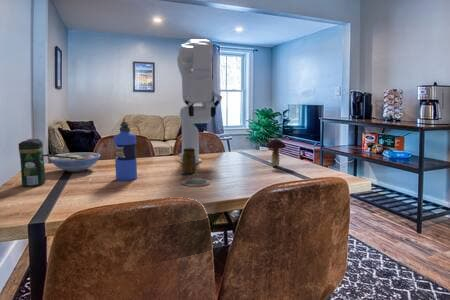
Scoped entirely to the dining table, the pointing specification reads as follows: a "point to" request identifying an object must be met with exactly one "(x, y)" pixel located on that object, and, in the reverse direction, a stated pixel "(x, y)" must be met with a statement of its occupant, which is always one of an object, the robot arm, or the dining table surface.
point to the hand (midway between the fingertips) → (202, 116)
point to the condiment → (189, 162)
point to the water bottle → (125, 154)
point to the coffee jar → (32, 162)
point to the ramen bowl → (74, 161)
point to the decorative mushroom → (275, 150)
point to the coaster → (195, 182)
